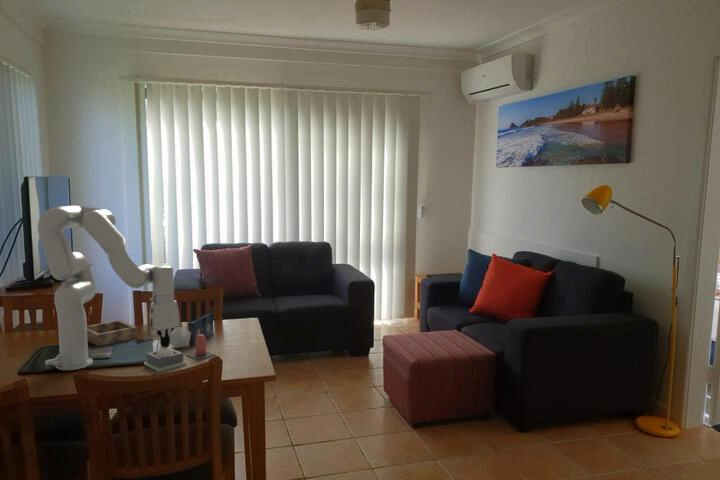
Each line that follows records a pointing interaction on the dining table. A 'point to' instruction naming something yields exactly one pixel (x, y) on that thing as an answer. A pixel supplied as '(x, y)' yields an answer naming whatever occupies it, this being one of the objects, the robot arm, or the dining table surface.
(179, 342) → the die
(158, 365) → the popper base
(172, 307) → the robot arm
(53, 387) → the dining table surface
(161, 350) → the popper dome
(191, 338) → the vhs cassette tape
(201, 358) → the coaster
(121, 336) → the snack corral
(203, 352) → the pawn
